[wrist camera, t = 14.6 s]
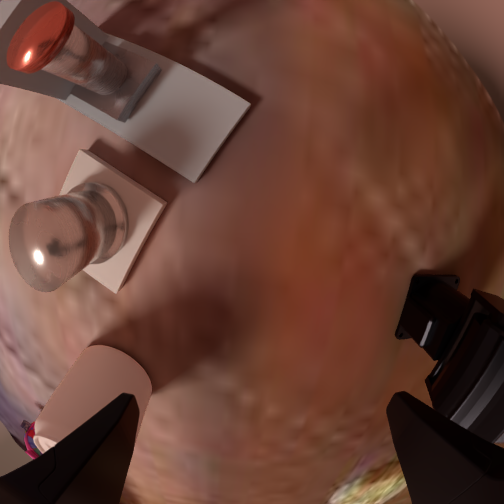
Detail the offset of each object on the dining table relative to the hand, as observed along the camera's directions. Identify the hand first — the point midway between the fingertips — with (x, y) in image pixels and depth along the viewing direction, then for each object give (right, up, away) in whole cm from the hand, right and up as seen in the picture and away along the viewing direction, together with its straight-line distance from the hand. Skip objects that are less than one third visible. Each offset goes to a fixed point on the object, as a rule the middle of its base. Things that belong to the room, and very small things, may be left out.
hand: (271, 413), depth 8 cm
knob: (-12, +7, +10) cm, 17 cm away
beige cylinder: (-14, -7, +15) cm, 22 cm away
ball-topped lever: (-10, +17, +7) cm, 21 cm away
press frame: (-12, +13, +9) cm, 20 cm away
